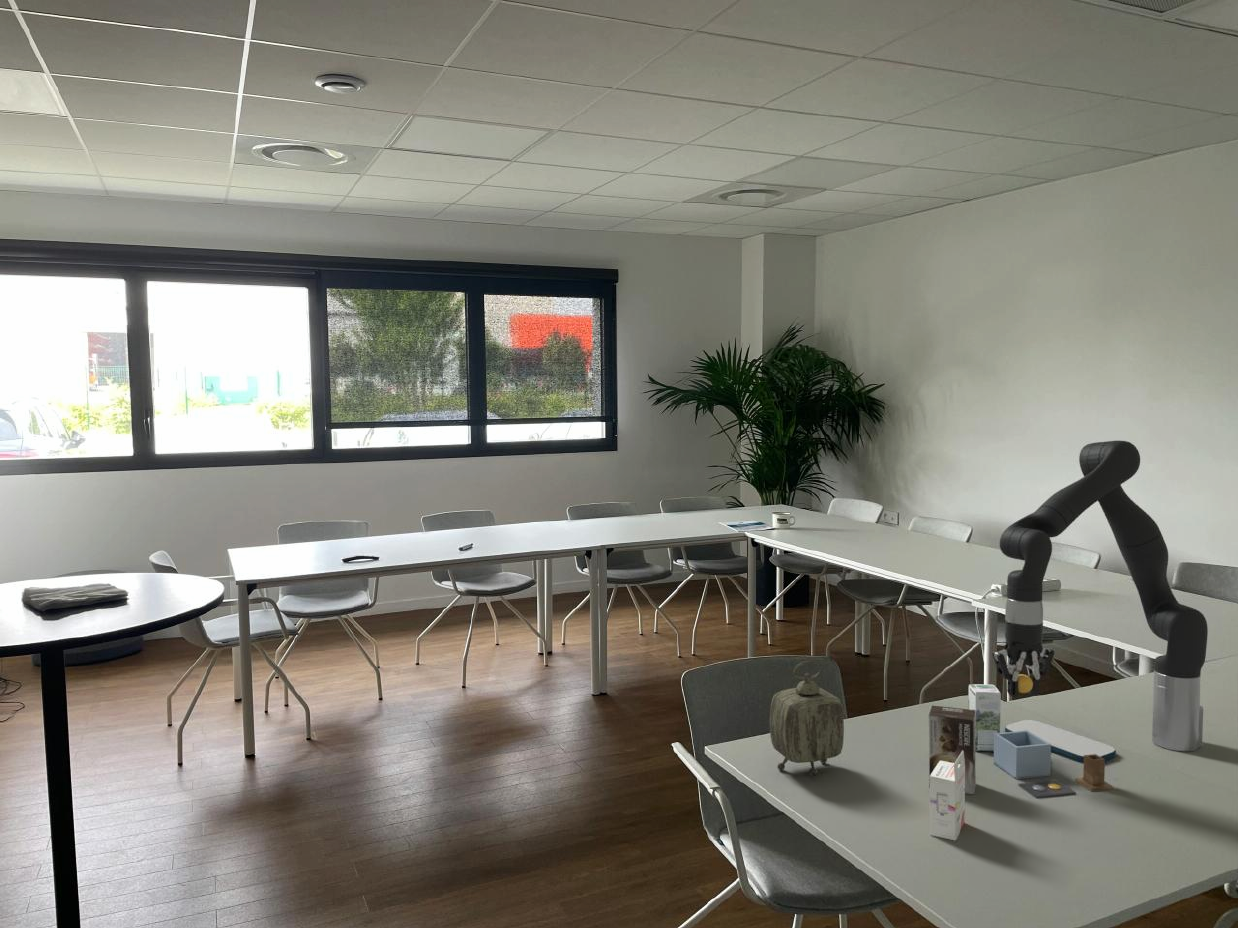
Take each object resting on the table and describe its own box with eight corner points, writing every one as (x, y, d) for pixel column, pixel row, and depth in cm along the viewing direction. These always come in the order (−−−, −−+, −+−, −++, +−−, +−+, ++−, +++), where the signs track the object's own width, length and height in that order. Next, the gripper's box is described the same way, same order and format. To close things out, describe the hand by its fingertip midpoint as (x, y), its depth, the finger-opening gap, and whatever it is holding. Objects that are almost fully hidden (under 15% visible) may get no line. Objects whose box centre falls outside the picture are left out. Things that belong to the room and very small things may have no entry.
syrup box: (992, 742, 211) (992, 683, 210) (1000, 752, 205) (1001, 691, 204) (967, 742, 212) (968, 682, 210) (974, 752, 206) (975, 691, 205)
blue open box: (1026, 760, 200) (1027, 730, 200) (1050, 775, 192) (1050, 744, 192) (993, 763, 199) (994, 733, 198) (1016, 779, 191) (1016, 747, 190)
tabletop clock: (826, 759, 203) (826, 652, 201) (848, 775, 195) (848, 663, 193) (769, 768, 199) (768, 659, 197) (789, 785, 190) (788, 671, 188)
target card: (1056, 781, 189) (1056, 778, 189) (1075, 793, 183) (1075, 791, 183) (1018, 785, 188) (1018, 782, 188) (1036, 797, 182) (1036, 795, 182)
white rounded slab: (1121, 757, 202) (1122, 749, 202) (1091, 768, 196) (1091, 760, 196) (1029, 725, 222) (1029, 717, 222) (999, 734, 217) (999, 726, 217)
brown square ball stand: (1095, 778, 190) (1096, 751, 190) (1112, 788, 186) (1113, 760, 185) (1075, 780, 190) (1075, 753, 189) (1091, 790, 185) (1091, 763, 184)
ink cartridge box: (938, 816, 175) (939, 744, 174) (965, 822, 172) (966, 749, 171) (928, 835, 168) (929, 759, 167) (956, 841, 165) (956, 765, 164)
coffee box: (976, 782, 190) (976, 709, 188) (974, 795, 184) (975, 719, 182) (931, 776, 193) (931, 704, 192) (928, 788, 188) (928, 713, 186)
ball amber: (1025, 688, 197) (1025, 671, 196) (1036, 694, 193) (1037, 676, 192) (1009, 690, 196) (1009, 672, 196) (1020, 696, 192) (1020, 678, 192)
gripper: (1042, 612, 198) (1040, 687, 199) (984, 616, 196) (983, 692, 197) (1064, 621, 191) (1063, 699, 192) (1004, 625, 188) (1003, 703, 190)
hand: (1022, 695), depth 194 cm, fingers closed on ball amber, 4 cm apart
